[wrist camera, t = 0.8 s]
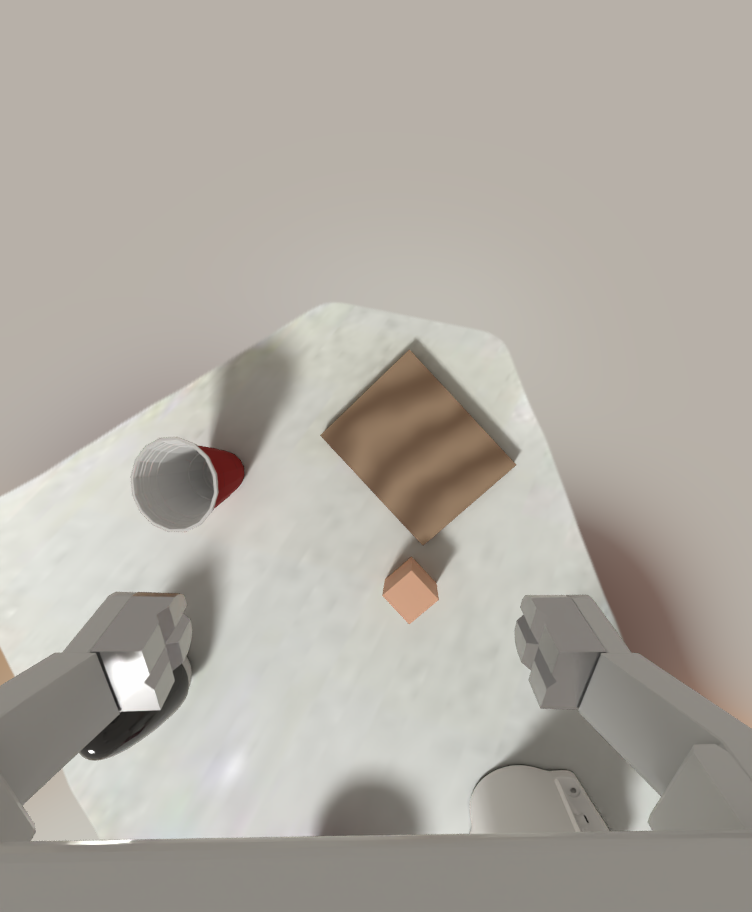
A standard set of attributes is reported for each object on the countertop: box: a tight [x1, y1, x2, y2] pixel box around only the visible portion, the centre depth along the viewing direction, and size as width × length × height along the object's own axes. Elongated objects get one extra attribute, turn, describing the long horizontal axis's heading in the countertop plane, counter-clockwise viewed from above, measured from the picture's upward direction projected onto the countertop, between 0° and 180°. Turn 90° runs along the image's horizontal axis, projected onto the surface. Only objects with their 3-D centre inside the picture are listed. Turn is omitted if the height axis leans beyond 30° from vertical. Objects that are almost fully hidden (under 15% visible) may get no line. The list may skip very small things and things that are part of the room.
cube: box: [382, 557, 439, 624], centre depth 51 cm, size 5×5×5 cm
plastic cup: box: [131, 437, 244, 532], centre depth 48 cm, size 11×11×12 cm
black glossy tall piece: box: [79, 657, 192, 761], centre depth 50 cm, size 10×10×15 cm
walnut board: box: [320, 350, 516, 545], centre depth 51 cm, size 20×16×2 cm
